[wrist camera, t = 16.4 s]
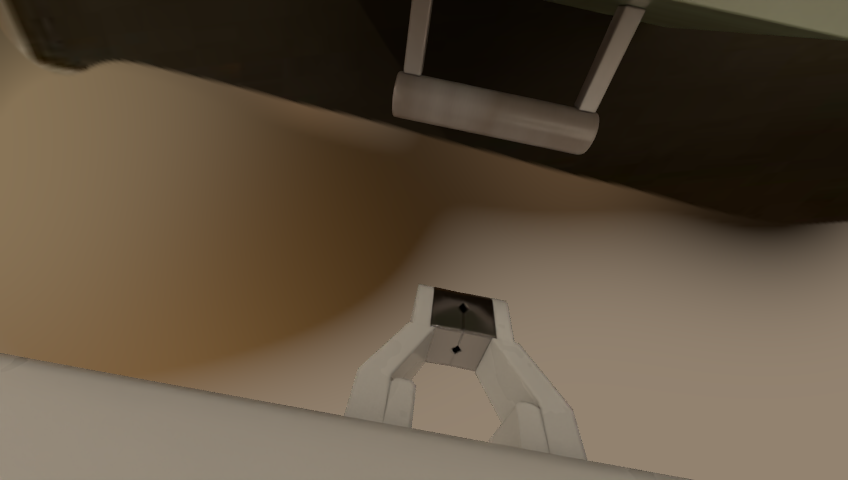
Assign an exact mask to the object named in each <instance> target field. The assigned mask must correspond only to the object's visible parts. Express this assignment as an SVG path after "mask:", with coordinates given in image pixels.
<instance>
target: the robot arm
mask: <svg viewBox="0 0 848 480" xmlns="http://www.w3.org/2000/svg"><path fill="white" fill-rule="evenodd" d="M425 362H429V363H435V364H441V365H449V366H453V367H458V368H462V369H467V370H471V371H475V374H476V376H477V378H478V379H479V381H480V383H481V385H482V387H483V388H484V390H485V393H486V394H487V396H488V398H489V400H490V402H491V404H492V406H493V407H494V410H495V411H496V413H497V415H498V417H499V419H500V421H501V423H502V424H501V425H500V427H499V428H498V429H497V431H496V432H495V433H494V435H493V436H492V437H491V439H490V440H489V443H488V442H484V441H478V440H472V439H467V438H462V437H456V436H451V435H445V434H440V433H434V432H429V431H423V430H417V429H412V428H411V427H412V418H413V409H414V400H415V390H416V385H415V384H414V383H413V382H412V378H413V377H414V376H415V375H416V373H417V372H418V371H419V370H420V368H421V367H422V366H423V365H424V363H425ZM0 480H691V479H686V478H680V477H675V476H669V475H664V474H658V473H653V472H647V471H642V470H636V469H631V468H625V467H620V466H615V465H609V464H604V463H598V462H593V461H587V458H586V454H585V450H584V447H583V443H582V440H581V437H580V433H579V430H578V426H577V423H576V419H575V416H574V412H573V409H572V408H571V407H570V405H569V404H568V403H567V402H566V401H565V400H564V398H563V397H562V396H561V394H560V393H559V392H558V391H557V389H556V388H555V387H554V386H553V385H552V383H551V382H550V381H549V380H548V378H547V377H546V376H545V375H544V373H543V372H542V371H541V370H540V369H539V367H538V366H537V365H536V364H535V362H534V361H533V360H532V359H531V358H530V356H529V355H528V354H527V353H526V351H525V350H524V349H523V348H522V346H521V345H520V344H519V343H516V342H514V338H513V331H512V326H511V320H510V315H509V308H508V303H507V302H506V301H504V300H498V299H493V298H487V297H482V296H476V295H471V294H466V293H460V292H455V291H451V290H446V289H441V288H437V287H431V286H426V285H422V284H419V286H418V290H417V294H416V298H415V303H414V307H413V312H412V316H411V322H408V323H407V324H406V325H405V326H404V327H403V328H401V329H400V330H399V331H398V332H397V333H396V334H395V335H394V336H393V337H392V338H391V339H390V340H389V341H387V343H386V344H385V345H383V346H382V347H381V348H380V349H379V350H378V351H377V352H376V353H375V354H374V355H372V356H371V357H370V358H369V359H368V360H367V361H366V362H365V363H364V364H363V365H362V366H361V367H360V368H358V371H357V374H356V378H355V381H354V385H353V387H352V391H351V394H350V398H349V401H348V404H347V408H346V411H345V414H344V416H341V415H336V414H330V413H325V412H319V411H314V410H308V409H303V408H297V407H292V406H286V405H280V404H275V403H270V402H264V401H259V400H253V399H248V398H242V397H237V396H231V395H226V394H220V393H215V392H209V391H204V390H198V389H193V388H187V387H182V386H176V385H171V384H165V383H159V382H155V381H149V380H144V379H138V378H132V377H127V376H121V375H116V374H110V373H105V372H100V371H94V370H89V369H83V368H78V367H72V366H67V365H62V364H56V363H50V362H45V361H40V360H35V359H29V358H23V357H18V356H13V355H8V354H2V353H0Z"/></svg>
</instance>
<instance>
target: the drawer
mask: <svg viewBox="0 0 848 480" xmlns="http://www.w3.org/2000/svg"><path fill="white" fill-rule="evenodd" d="M544 1H549V2H553V3H558V4H562V5H567V6H571V7H576V8H580V9H585V10H590V11H594V12H599V13H603V14H608V15H612V16H613V18H612V21H611V23H610V25H609V27H608V30H607V32H606V34H605V36H604V39H603V41H602V43H601V45H600V48H599V50H598V52H597V54H596V57H595V59H594V61H593V63H592V66H591V68H590V70H589V72H588V74H587V77H586V79H585V81H584V83H583V86H582V88H581V90H580V92H579V95H578V97H577V99H576V101H575V104H574V106H575V107H571V106H566V105H562V104H557V103H552V102H547V101H543V100H538V99H533V98H528V97H524V96H519V95H514V94H510V93H505V92H500V91H495V90H491V89H486V88H481V87H477V86H472V85H467V84H462V83H458V82H453V81H448V80H443V79H439V78H434V77H429V76H425V75H421V74H422V72H423V67H424V60H425V53H426V47H427V40H428V33H429V27H430V20H431V13H432V7H433V0H412V2H411V11H410V19H409V28H408V37H407V45H406V54H405V63H404V71H399V73H398V75H397V77H396V81H395V86H394V92H393V100H392V113H393V116H395V117H398V118H403V119H408V120H413V121H417V122H422V123H427V124H432V125H437V126H442V127H446V128H451V129H456V130H461V131H466V132H470V133H475V134H480V135H485V136H490V137H495V138H499V139H504V140H509V141H514V142H519V143H523V144H528V145H533V146H538V147H543V148H547V149H552V150H557V151H562V152H567V153H572V154H576V155H580V154H583V153H584V152H586V151H587V150H588V148H589V147H590V146H591V144H592V142H593V141H594V139H595V136H596V134H597V131H598V127H599V116H598V114H597V113H596V110H597V108H598V106H599V104H600V102H601V100H602V98H603V96H604V94H605V92H606V90H607V88H608V86H609V84H610V82H611V80H612V78H613V76H614V73H615V71H616V69H617V67H618V65H619V63H620V61H621V59H622V57H623V55H624V53H625V51H626V49H627V47H628V45H629V43H630V41H631V39H632V37H633V35H634V33H635V31H636V29H637V27H638V25H639V23H640V22H644V23H649V24H653V25H658V26H662V27H670V28H684V29H697V30H710V31H723V32H737V33H750V34H763V35H776V36H790V37H803V38H816V39H829V40H842V41H848V0H544Z"/></svg>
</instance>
